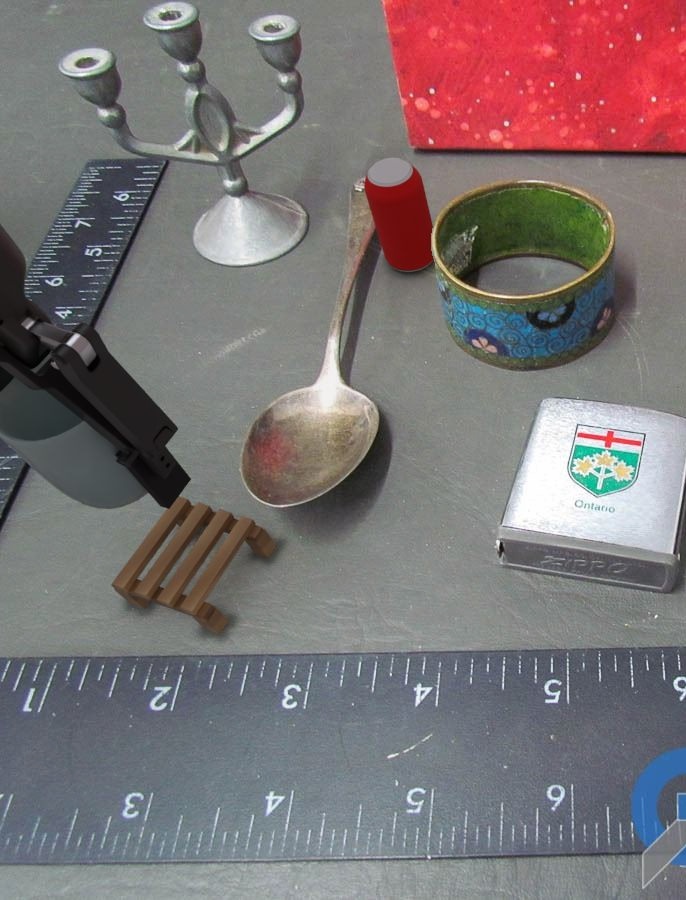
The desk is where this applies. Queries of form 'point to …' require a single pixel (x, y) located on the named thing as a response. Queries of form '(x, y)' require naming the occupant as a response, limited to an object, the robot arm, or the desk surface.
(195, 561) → the rack
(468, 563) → the desk surface
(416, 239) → the beverage can
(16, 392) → the cup
